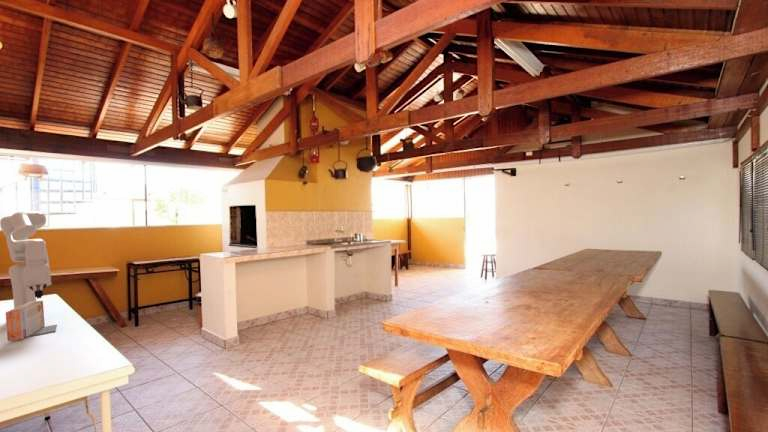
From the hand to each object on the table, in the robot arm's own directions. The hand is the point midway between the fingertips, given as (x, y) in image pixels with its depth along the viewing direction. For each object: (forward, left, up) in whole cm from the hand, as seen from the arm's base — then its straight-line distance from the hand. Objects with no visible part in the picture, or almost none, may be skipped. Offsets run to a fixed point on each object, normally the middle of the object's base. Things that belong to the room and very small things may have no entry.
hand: (39, 297), depth 193 cm
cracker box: (-1, -1, -9) cm, 9 cm away
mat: (+8, 0, -16) cm, 18 cm away
